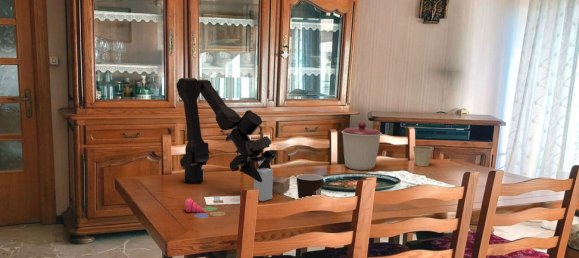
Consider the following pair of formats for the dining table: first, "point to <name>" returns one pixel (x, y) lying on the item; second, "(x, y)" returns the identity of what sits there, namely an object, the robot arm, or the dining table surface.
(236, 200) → the page
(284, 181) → the base block
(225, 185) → the dining table surface
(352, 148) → the canister
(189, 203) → the toy pieces
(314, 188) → the coffee mug
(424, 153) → the flower pot
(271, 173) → the tall brick
